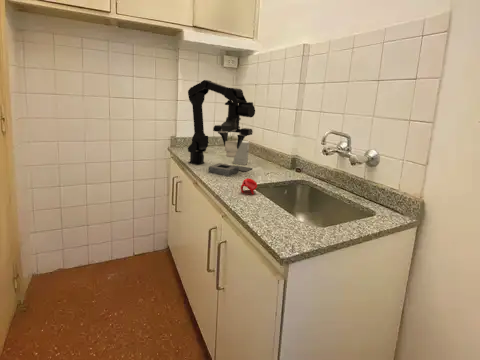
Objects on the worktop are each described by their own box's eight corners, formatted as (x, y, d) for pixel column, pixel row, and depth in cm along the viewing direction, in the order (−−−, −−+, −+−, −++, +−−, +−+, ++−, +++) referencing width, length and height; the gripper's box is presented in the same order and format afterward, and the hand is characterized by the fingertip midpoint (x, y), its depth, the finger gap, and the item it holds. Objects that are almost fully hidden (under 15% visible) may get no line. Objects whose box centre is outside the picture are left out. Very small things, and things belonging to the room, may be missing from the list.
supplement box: (245, 165, 174) (247, 142, 171) (232, 163, 175) (234, 141, 172) (248, 162, 181) (250, 141, 178) (235, 161, 182) (237, 139, 179)
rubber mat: (229, 169, 160) (230, 168, 160) (236, 166, 168) (237, 165, 168) (246, 172, 157) (246, 171, 157) (252, 169, 165) (252, 168, 165)
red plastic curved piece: (254, 189, 118) (261, 178, 122) (241, 181, 119) (247, 171, 123) (250, 200, 125) (256, 190, 128) (237, 193, 126) (244, 183, 129)
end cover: (222, 156, 153) (223, 141, 151) (228, 154, 159) (229, 140, 157) (234, 158, 151) (235, 143, 149) (239, 156, 156) (240, 141, 154)
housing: (208, 172, 151) (208, 166, 150) (218, 168, 161) (219, 163, 160) (229, 176, 147) (229, 170, 146) (238, 172, 157) (238, 166, 156)
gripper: (208, 114, 146) (206, 147, 150) (244, 117, 139) (242, 152, 143) (219, 113, 156) (217, 144, 160) (254, 117, 149) (251, 149, 153)
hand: (231, 147), depth 154 cm, fingers closed on end cover, 6 cm apart
